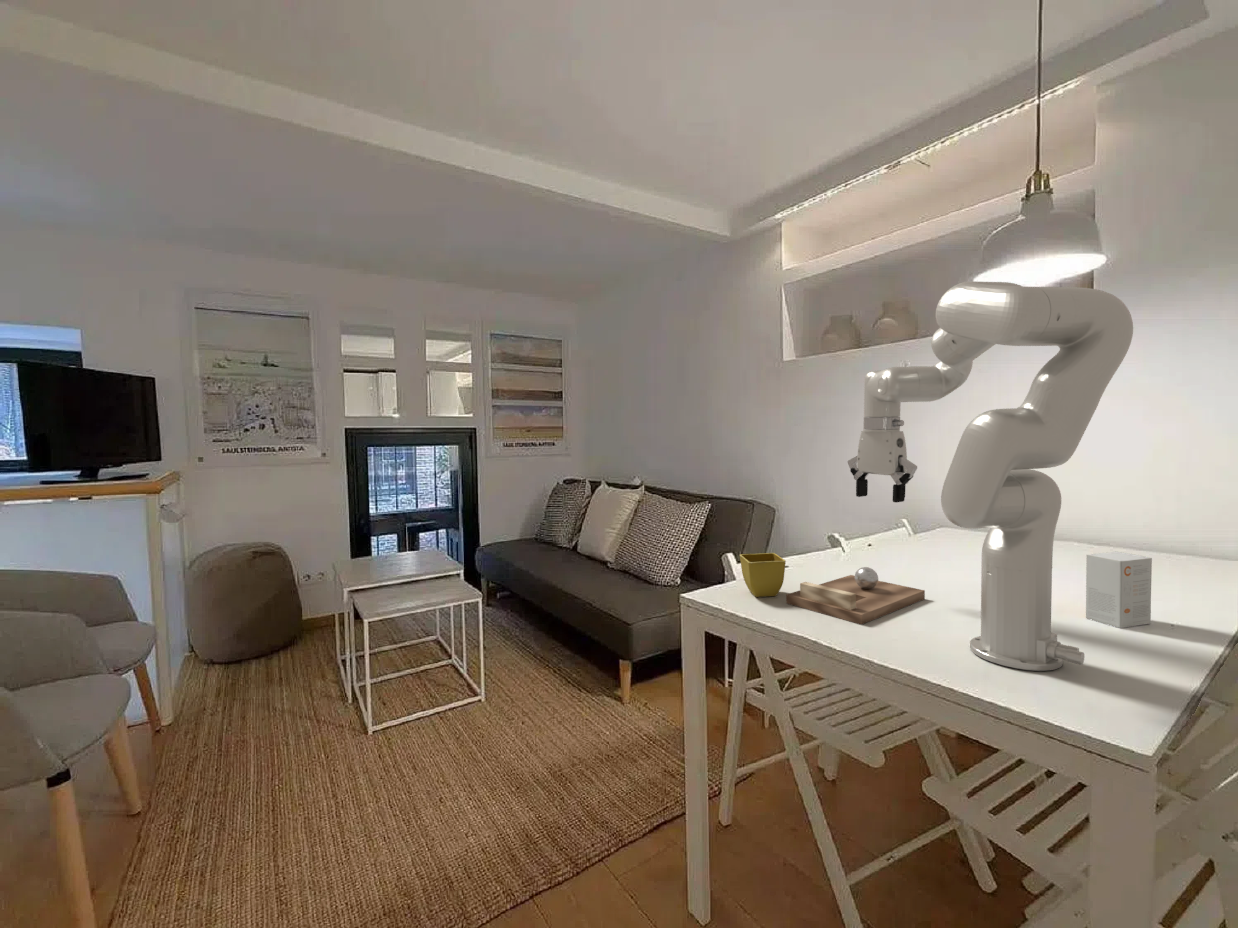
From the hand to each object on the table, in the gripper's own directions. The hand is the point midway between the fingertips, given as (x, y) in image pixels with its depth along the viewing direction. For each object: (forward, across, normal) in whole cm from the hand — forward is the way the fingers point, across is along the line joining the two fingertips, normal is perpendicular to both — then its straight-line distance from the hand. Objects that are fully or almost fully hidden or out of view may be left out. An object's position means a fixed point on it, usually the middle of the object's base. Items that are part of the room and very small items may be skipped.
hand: (879, 498), depth 125 cm
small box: (+22, -36, -24) cm, 48 cm away
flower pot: (+23, +14, +23) cm, 35 cm away
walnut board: (+22, -1, +9) cm, 24 cm away
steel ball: (+18, 0, +4) cm, 19 cm away
